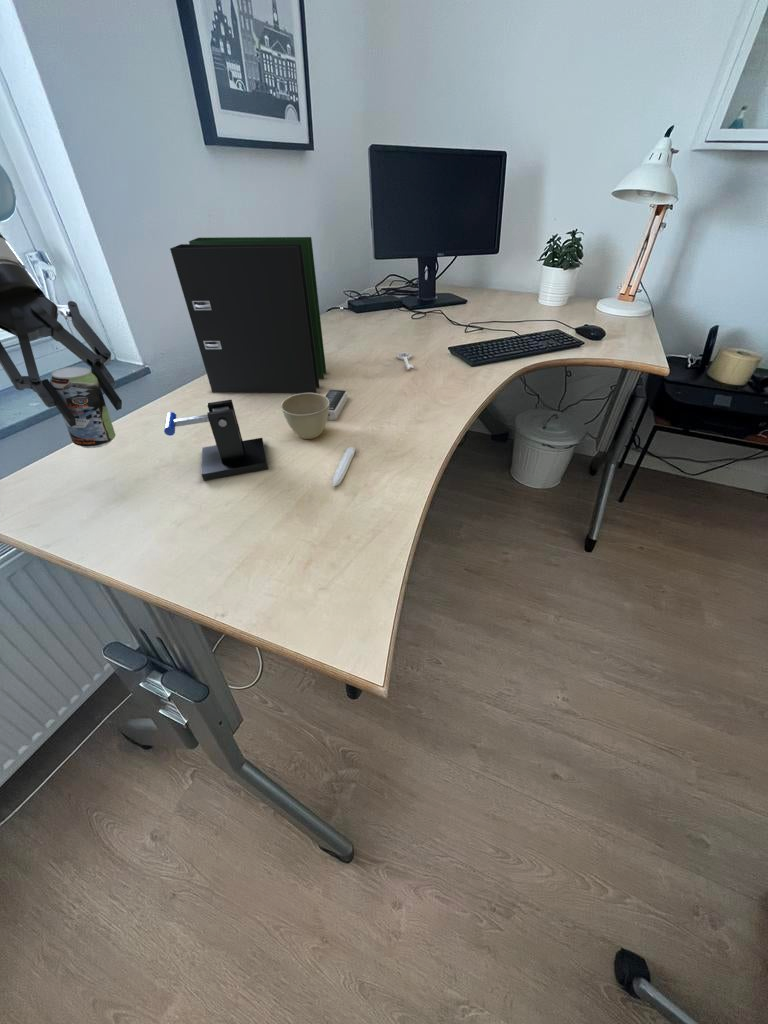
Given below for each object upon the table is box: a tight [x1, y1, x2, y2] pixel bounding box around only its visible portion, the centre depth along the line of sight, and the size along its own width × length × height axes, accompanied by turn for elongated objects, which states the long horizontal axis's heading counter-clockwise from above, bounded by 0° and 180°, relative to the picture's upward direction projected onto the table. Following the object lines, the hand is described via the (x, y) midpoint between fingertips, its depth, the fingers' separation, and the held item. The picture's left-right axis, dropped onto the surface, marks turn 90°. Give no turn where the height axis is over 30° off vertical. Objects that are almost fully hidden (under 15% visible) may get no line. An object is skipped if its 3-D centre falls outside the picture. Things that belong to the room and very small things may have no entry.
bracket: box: [201, 399, 269, 482], centre depth 83 cm, size 12×10×12 cm
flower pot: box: [280, 392, 330, 440], centre depth 92 cm, size 10×10×7 cm
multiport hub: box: [324, 389, 349, 421], centre depth 102 cm, size 4×11×2 cm, turn 169°
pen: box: [332, 446, 356, 487], centre depth 83 cm, size 2×14×2 cm, turn 169°
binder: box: [169, 236, 327, 394], centre depth 105 cm, size 27×15×32 cm, turn 84°
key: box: [396, 351, 414, 371], centre depth 124 cm, size 12×1×4 cm
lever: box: [163, 406, 229, 437], centre depth 79 cm, size 11×6×2 cm, turn 107°
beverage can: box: [49, 366, 116, 449], centre depth 67 cm, size 6×7×12 cm
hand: (96, 413), depth 66 cm, fingers closed on beverage can, 6 cm apart
